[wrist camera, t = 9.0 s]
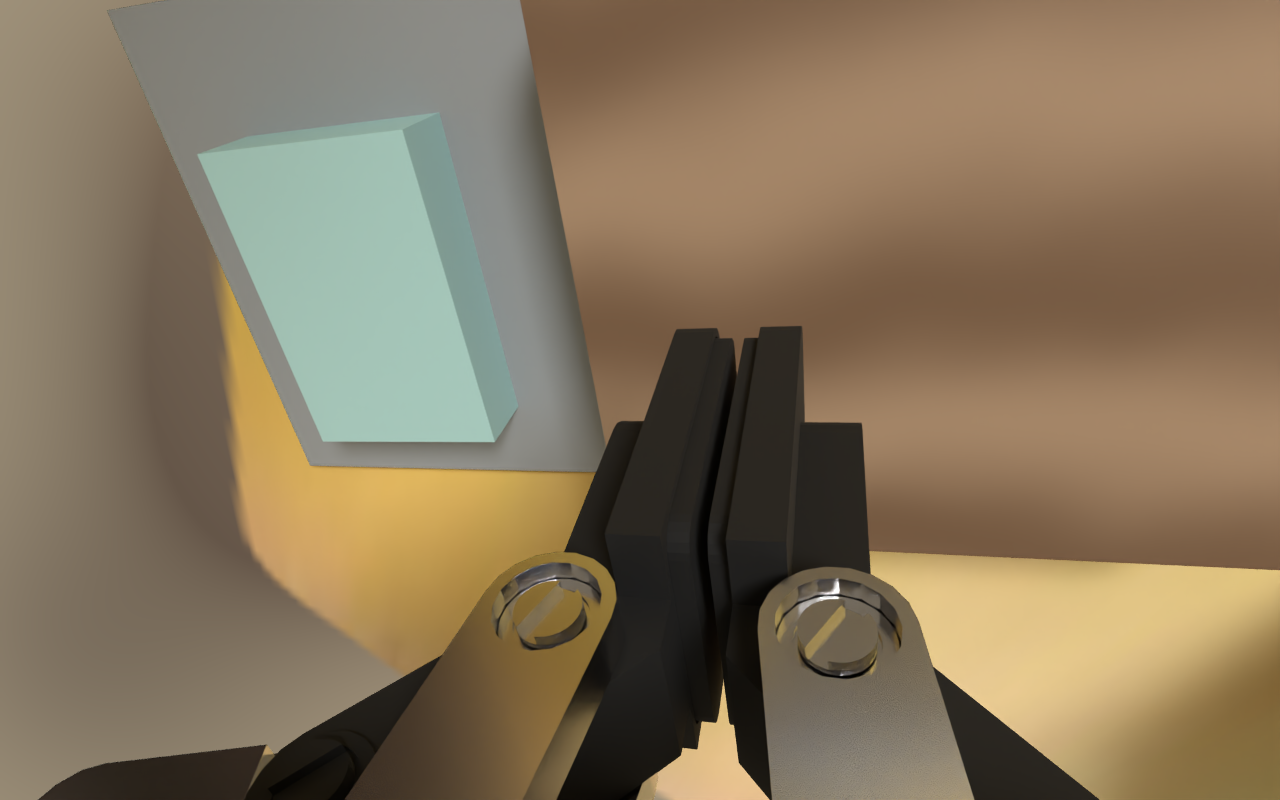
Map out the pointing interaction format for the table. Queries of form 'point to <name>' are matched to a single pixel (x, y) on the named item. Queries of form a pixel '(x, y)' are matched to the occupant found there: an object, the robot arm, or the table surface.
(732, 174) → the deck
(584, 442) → the mat
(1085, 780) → the table surface
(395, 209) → the block
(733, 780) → the table surface
